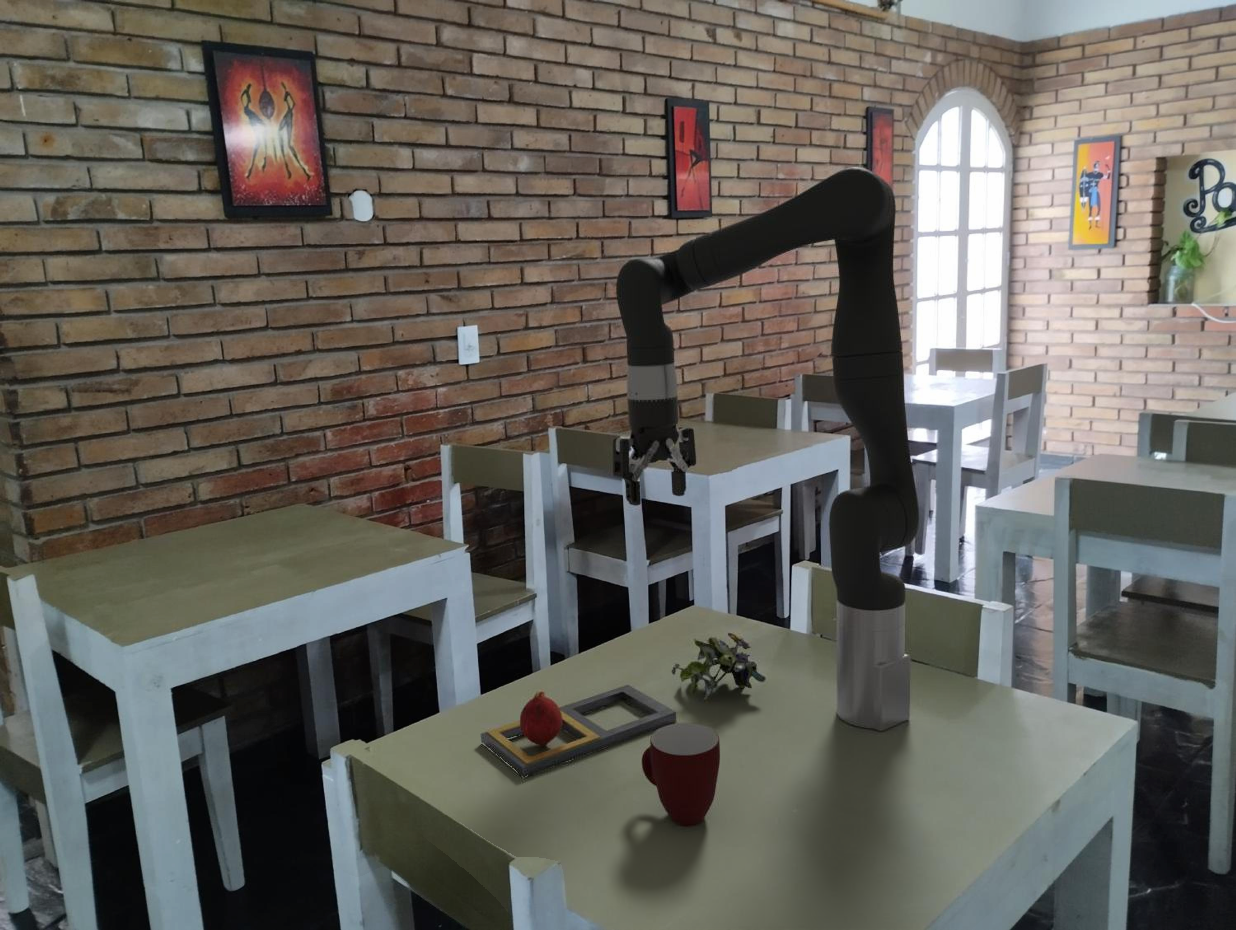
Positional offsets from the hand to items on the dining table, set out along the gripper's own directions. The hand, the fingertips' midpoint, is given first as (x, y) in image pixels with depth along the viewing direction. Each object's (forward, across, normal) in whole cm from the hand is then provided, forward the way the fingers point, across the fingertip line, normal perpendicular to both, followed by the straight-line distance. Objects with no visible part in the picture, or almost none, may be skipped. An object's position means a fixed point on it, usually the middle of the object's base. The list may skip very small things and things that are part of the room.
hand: (657, 499), depth 147 cm
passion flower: (+30, +2, -10) cm, 31 cm away
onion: (+29, -26, -6) cm, 40 cm away
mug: (+30, -23, -31) cm, 49 cm away
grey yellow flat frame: (+29, -20, -6) cm, 36 cm away
